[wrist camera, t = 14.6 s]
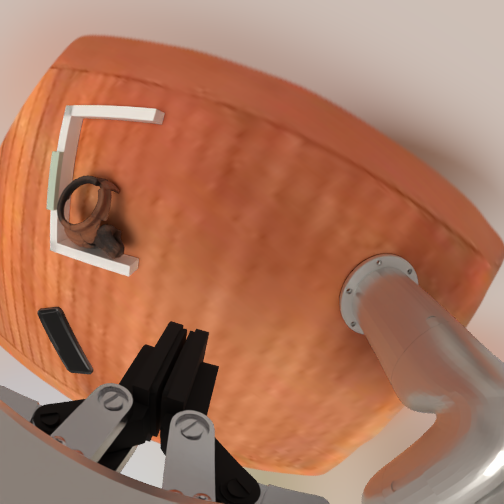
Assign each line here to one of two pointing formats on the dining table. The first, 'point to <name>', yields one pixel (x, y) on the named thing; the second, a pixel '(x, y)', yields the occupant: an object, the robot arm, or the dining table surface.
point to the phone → (64, 340)
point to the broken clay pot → (93, 219)
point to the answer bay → (64, 174)
